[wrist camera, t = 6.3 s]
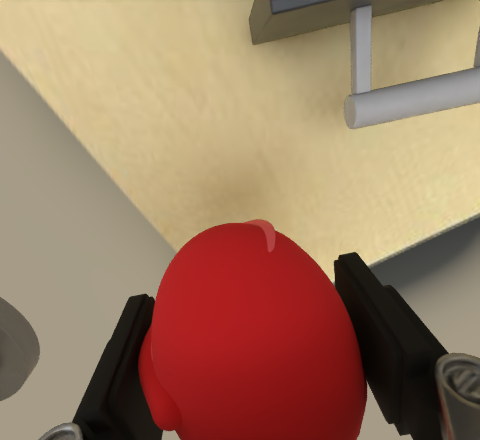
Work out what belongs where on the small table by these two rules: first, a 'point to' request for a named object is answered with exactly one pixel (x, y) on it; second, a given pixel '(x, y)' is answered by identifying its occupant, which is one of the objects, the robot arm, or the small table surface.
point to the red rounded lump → (251, 343)
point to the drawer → (367, 58)
